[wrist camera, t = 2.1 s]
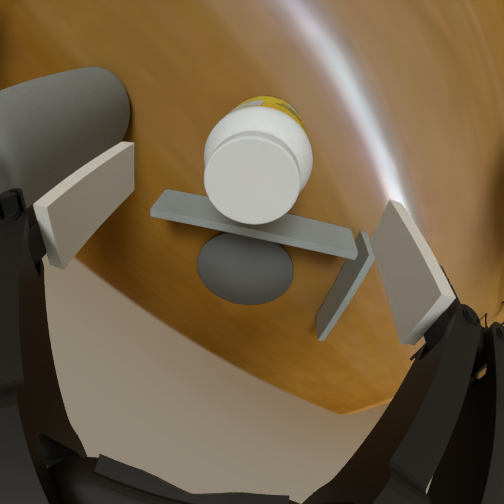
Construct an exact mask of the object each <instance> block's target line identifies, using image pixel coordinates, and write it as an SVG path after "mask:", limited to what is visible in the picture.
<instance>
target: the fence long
mask: <svg viewBox="0 0 504 504" xmlns="http://www.w3.org/2000/svg"><path fill="white" fill-rule="evenodd" d="M150 211H151V216H152V217H157V218H162V219H167V220H172V221H176V222H181V223H186V224H191V225H196V226H201V227H206V228H211V229H215V230H220V231H225V232H230V233H235V234H239V235H244V236H249V237H253V238H258V239H263V240H267V241H272V242H277V243H281V244H286V245H290V246H295V247H299V248H304V249H308V250H313V251H317V252H322V253H326V254H331V255H335V256H340V257H344V258H349V259H353V260H355V259H356V257H357V255H358V251H357V247H356V244H355V241H354V238H353V235H352V232H351V229H349V228H345V227H341V226H337V225H333V224H329V223H325V222H321V221H317V220H313V219H309V218H304V217H300V216H296V215H292V214H287V213H285V214H284V215H283V216H281V217H280V218H278V219H276V220H274V221H271V222H268V223H263V224H246V223H241V222H237V221H235V220H232V219H230V218H228V217H226V216H225V215H223V214H222V213H221V212H220V211H219V210H217V209H216V208H215V206H214V205H213V204H212V202H211V201H210V199H209V197H207V196H202V195H196V194H191V193H186V192H180V191H175V190H169V189H166V190H165V191H164V192H163V194H162V195H161V196H160V197H159V199H158V200H157V201H156V202H155V204H154V205H153V206H152V207H151V209H150Z"/></svg>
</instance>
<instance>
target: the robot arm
mask: <svg viewBox="0 0 504 504" xmlns="http://www.w3.org/2000/svg"><path fill="white" fill-rule="evenodd" d="M133 191H134V143H132V142H120V143H119V144H117V145H115V146H114V147H112V148H110V149H109V150H107V151H106V152H104V153H102V154H101V155H99V156H98V157H96V158H95V159H93V160H92V161H90V162H89V163H87V164H86V165H84V166H83V167H81V168H80V169H78V170H77V171H75V172H74V173H73V174H71V175H70V176H69V177H67V178H66V179H64V180H63V181H62V182H60V183H58V184H57V185H55V186H54V187H53V188H52V189H51V190H49V191H48V192H46V193H45V195H43V196H41V197H40V198H39V199H38V200H37V201H35V202H34V203H33V204H32V205H31V206H29V207H28V208H26V204H25V200H24V196H23V191H22V189H20V188H13V189H9V190H7V191H5V192H3V193H1V194H0V504H299V503H296V502H294V501H291V500H289V496H285V495H283V496H282V495H265V494H253V493H243V492H241V493H240V492H239V493H237V492H235V493H232V492H231V493H210V494H192V493H188V492H186V491H184V490H182V489H180V488H178V487H176V486H174V485H172V484H170V483H168V482H166V481H164V480H162V479H161V478H159V477H157V476H154V475H152V474H150V473H148V472H145V471H143V470H140V469H137V468H135V467H132V466H129V465H126V464H124V463H121V462H118V461H116V460H113V459H111V458H109V457H106V456H104V455H102V454H100V455H99V458H96V457H87V455H86V452H85V450H84V447H83V445H82V443H81V441H80V439H79V437H78V435H77V434H76V432H75V431H74V429H73V428H72V426H71V424H70V422H69V419H68V417H67V413H66V410H65V407H64V403H63V399H62V396H61V392H60V388H59V384H58V380H57V375H56V370H55V366H54V360H53V355H52V349H51V343H50V337H49V329H48V321H47V312H46V301H45V285H44V265H43V262H42V258H43V256H44V255H45V254H46V253H47V256H48V259H49V262H50V265H53V266H55V267H58V268H61V269H65V267H66V266H67V265H68V263H69V262H70V261H71V260H72V258H73V257H74V256H75V255H76V254H77V252H78V251H79V250H80V249H81V248H82V246H83V245H84V244H85V243H86V242H87V240H88V239H89V238H90V237H91V236H92V235H93V234H94V232H95V231H96V230H97V229H98V228H99V227H100V226H101V225H102V224H103V222H104V221H105V220H106V219H107V218H108V217H109V216H110V215H111V214H112V213H113V212H114V211H115V210H116V209H117V207H118V206H119V205H120V204H121V203H122V202H123V201H124V200H125V199H126V198H127V197H128V196H129V195H130V194H131V193H132V192H133ZM369 243H370V246H371V248H372V251H373V254H374V257H375V260H376V263H377V265H378V268H379V271H380V274H381V277H382V281H383V284H384V287H385V290H386V293H387V297H388V300H389V303H390V307H391V310H392V314H393V317H394V321H395V325H396V329H397V332H398V336H399V340H400V344H411V345H415V344H416V343H417V342H418V341H419V340H420V339H421V338H422V337H423V335H424V338H425V341H426V343H425V344H424V345H423V346H422V347H421V348H420V349H419V350H418V351H417V352H416V353H415V354H414V355H413V356H412V357H411V358H410V360H411V361H412V360H413V359H414V358H415V360H414V362H413V364H412V366H411V368H410V370H409V372H408V373H407V375H406V377H405V379H404V381H403V382H402V384H401V386H400V388H399V389H398V391H397V393H396V394H395V396H394V398H393V399H392V401H391V402H390V404H389V406H388V407H387V409H386V410H385V412H384V413H383V415H382V417H381V418H380V420H379V421H378V422H377V424H376V425H375V427H374V428H373V430H372V431H371V432H370V434H369V435H368V436H367V438H366V439H365V441H364V442H363V444H362V445H361V446H360V447H359V448H358V450H357V451H356V452H355V454H354V455H353V456H352V457H351V459H350V460H349V461H348V462H347V463H346V465H345V466H344V467H343V468H342V469H341V470H340V472H339V473H338V474H337V475H336V476H335V477H334V478H333V479H332V480H331V481H330V482H329V483H327V484H325V485H324V486H322V487H321V488H319V489H318V490H317V491H316V492H314V493H313V494H312V495H311V496H310V497H308V498H307V499H306V500H305V502H303V503H302V504H504V326H502V325H501V324H500V323H498V322H493V324H492V325H491V326H490V327H489V328H488V329H486V328H484V327H482V326H481V323H480V320H479V317H478V316H477V314H476V313H475V312H474V311H473V309H472V308H470V307H469V306H467V305H465V304H460V301H459V299H458V297H457V295H456V293H455V291H454V289H453V287H452V285H451V284H450V281H449V279H448V277H446V276H447V275H446V273H445V272H444V270H443V268H442V266H441V265H440V264H439V263H438V262H437V260H436V258H435V256H434V255H433V253H432V251H431V249H430V248H429V246H428V244H427V243H426V241H425V239H424V238H423V236H422V234H421V233H420V231H419V229H418V228H417V226H416V225H415V223H414V222H413V220H412V218H411V217H410V215H409V214H408V212H407V211H406V209H405V208H404V206H403V205H402V204H401V203H398V202H396V201H393V200H389V202H388V204H387V206H386V208H385V211H384V213H383V215H382V217H381V219H380V221H379V223H378V225H377V227H376V230H375V232H374V234H373V236H372V238H371V240H370V242H369ZM486 367H487V369H486V373H485V375H484V376H483V377H481V378H480V379H478V374H479V373H480V372H481V371H482V370H484V369H485V368H486ZM432 476H433V478H432ZM431 478H432V481H431V484H430V487H429V490H428V493H427V494H426V488H427V485H428V484H429V482H430V480H431Z"/></svg>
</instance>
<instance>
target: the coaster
mask: <svg viewBox="0 0 504 504" xmlns="http://www.w3.org/2000/svg"><path fill="white" fill-rule="evenodd" d="M197 268H198V273H199V276H200V278H201V280H202V281H203V283H204V284H205V285H206V286H207V288H208V289H209V290H211V291H212V292H213V293H214V294H216V295H217V296H219V297H221V298H223V299H225V300H228V301H230V302H234V303H238V304H246V305H255V304H262V303H266V302H269V301H272V300H274V299H276V298H278V297H279V296H281V295H282V294H283V293H284V292H285V291H286V290H287V289H288V287H289V286H290V284H291V282H292V278H293V264H292V260H291V258H290V256H289V254H288V252H287V251H286V250H285V249H284V247H283V246H282V245H280V244H279V243H277V242H272V241H267V240H263V239H258V238H253V237H249V236H244V235H239V234H235V233H230V232H224V233H221V234H219V235H216V236H215V237H213V238H211V239H210V240H209V241H208V242H207V243H206V244H205V245H204V246H203V248H202V249H201V251H200V254H199V257H198V261H197Z"/></svg>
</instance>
